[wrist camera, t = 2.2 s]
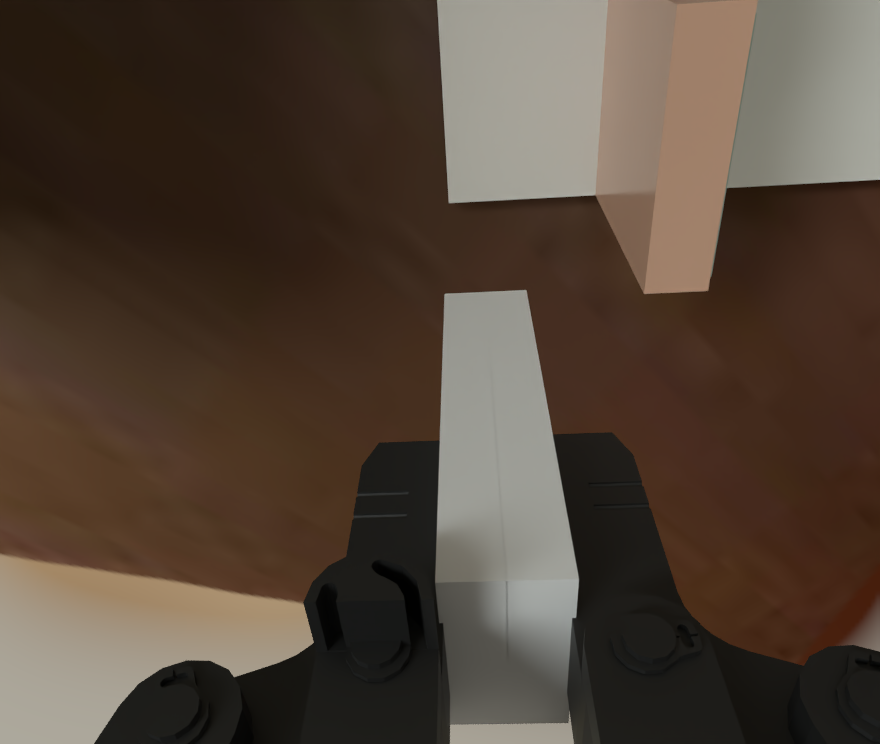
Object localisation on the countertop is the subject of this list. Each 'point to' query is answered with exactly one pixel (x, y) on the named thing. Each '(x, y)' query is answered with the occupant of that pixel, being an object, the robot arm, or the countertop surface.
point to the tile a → (670, 132)
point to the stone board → (580, 94)
